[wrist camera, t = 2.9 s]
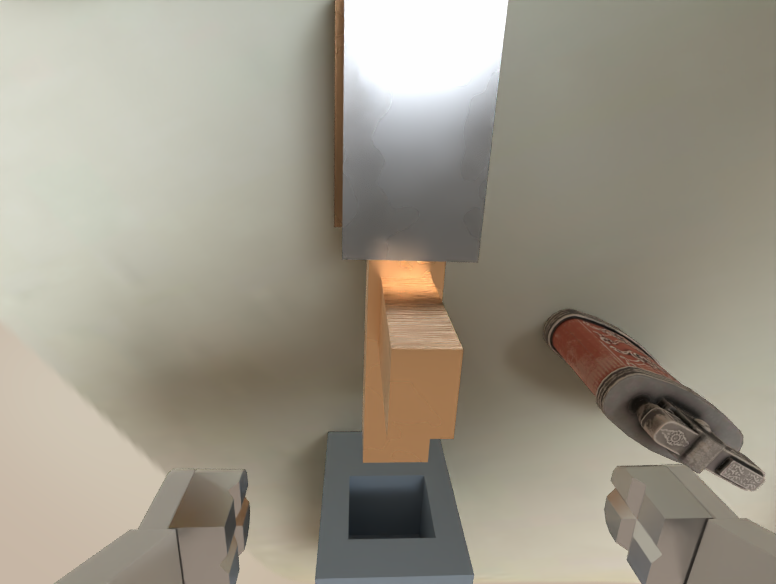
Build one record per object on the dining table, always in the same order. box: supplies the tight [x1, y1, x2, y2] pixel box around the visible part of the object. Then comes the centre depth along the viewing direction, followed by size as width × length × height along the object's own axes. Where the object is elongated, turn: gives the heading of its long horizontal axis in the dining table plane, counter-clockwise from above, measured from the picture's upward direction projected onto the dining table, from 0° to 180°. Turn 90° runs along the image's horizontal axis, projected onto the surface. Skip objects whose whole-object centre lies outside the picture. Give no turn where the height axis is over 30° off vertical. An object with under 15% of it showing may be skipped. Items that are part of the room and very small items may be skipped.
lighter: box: [543, 309, 765, 491], centre depth 25 cm, size 8×3×10 cm, turn 59°
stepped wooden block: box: [362, 260, 463, 463], centre depth 17 cm, size 20×3×9 cm, turn 178°
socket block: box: [315, 432, 474, 584], centre depth 27 cm, size 6×7×10 cm
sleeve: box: [334, 0, 508, 262], centre depth 20 cm, size 10×6×8 cm, turn 178°
